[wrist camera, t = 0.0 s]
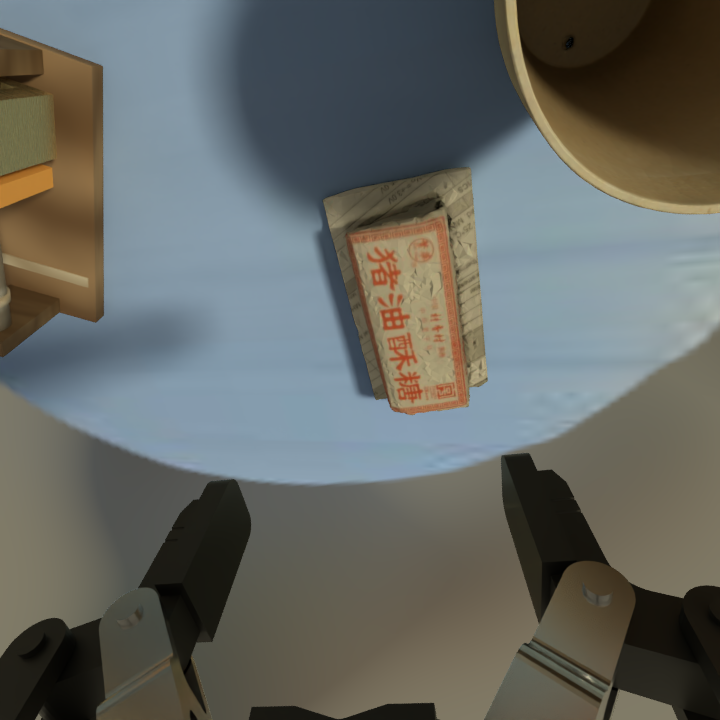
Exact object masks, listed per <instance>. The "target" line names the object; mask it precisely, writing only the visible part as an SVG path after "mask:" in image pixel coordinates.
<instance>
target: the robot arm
mask: <svg viewBox="0 0 720 720" xmlns="http://www.w3.org/2000/svg"><path fill="white" fill-rule="evenodd" d="M501 470H502V497H503V505H504V510H505V515H506V518H507V522H508V525H509V528H510V532H511V535H512V538H513V541H514V545H515V548H516V551H517V554H518V557H519V561H520V564H521V567H522V570H523V574H524V577H525V580H526V583H527V587H528V590H529V593H530V596H531V600H532V603H533V606H534V609H535V613H536V616H537V619H538V622H539V626H538V628H537V630H536V632H535V634H534V636H533V638H532V640H531V642H530V643H529V644H527V643H524V644H523V645H522V646H521V647H520V649H519V650H518V652H517V653H516V656H515V657H514V659H513V662H512V664H511V666H510V668H509V670H508V672H507V674H506V676H505V678H504V680H503V682H502V684H501V686H500V688H499V690H498V692H497V694H496V696H495V699H494V700H493V702H492V705H491V706H490V709H489V711H488V713H487V715H486V717H485V719H484V720H611V719H612V715H613V712H614V709H615V705H616V702H617V698H618V695H619V692H620V689H621V690H624V691H627V692H630V693H633V694H637V695H640V696H643V697H646V698H650V699H653V700H656V701H660V702H663V703H666V704H669V705H672V707H673V710H674V712H675V714H676V716H677V719H678V720H720V587H715V586H698V587H695V588H693V589H691V590H689V591H688V592H687V593H686V595H685V596H684V598H679V597H675V596H670V595H666V594H661V593H657V592H652V591H649V590H645V589H642V588H640V587H637V586H635V585H633V584H631V583H630V582H628V580H627V579H626V578H625V577H624V576H623V575H622V574H621V573H619V572H618V571H617V570H615V569H614V568H612V567H611V566H610V565H609V563H608V562H607V560H606V558H605V556H604V554H603V552H602V550H601V548H600V547H599V545H598V543H597V541H596V539H595V537H594V535H593V533H592V531H591V529H590V527H589V525H588V523H587V521H586V519H585V517H584V516H583V514H582V513H581V510H580V508H579V506H578V504H577V502H576V500H574V496H573V494H572V492H571V490H570V488H569V486H568V485H567V483H566V481H564V480H563V479H562V478H561V477H560V476H559V475H557V474H556V473H555V472H554V471H553V470H542V471H537V469H536V467H535V465H534V462H533V460H532V458H531V456H530V454H529V453H523V454H511V455H502V457H501ZM250 532H251V518H250V514H249V512H248V509H247V507H246V504H245V501H244V498H243V496H242V493H241V490H240V488H239V485H238V483H237V481H236V480H234V479H231V480H221V481H211V482H209V483H208V484H207V486H206V488H205V489H204V491H203V493H202V495H201V497H200V499H199V500H193V501H192V502H191V503H190V504H189V505H188V506H187V507H186V508H185V509H184V510H183V511H182V512H181V513H180V515H179V516H178V518H177V520H176V522H175V524H174V525H173V527H172V531H170V532H169V534H168V536H167V538H166V539H165V543H163V545H162V546H161V548H160V550H159V552H158V554H157V555H156V557H155V559H154V561H153V563H152V564H151V566H150V568H149V570H148V572H147V573H146V575H145V577H144V579H143V580H142V582H141V584H140V586H139V587H138V589H135V590H132V591H130V592H128V593H126V594H124V595H123V596H121V597H120V598H118V599H117V600H116V601H115V602H114V603H113V604H112V605H111V606H110V607H109V608H108V609H107V611H106V612H105V614H104V615H103V617H102V618H100V619H97V620H95V621H92V622H89V623H86V624H84V625H81V626H78V627H75V628H72V629H69V628H68V627H67V625H66V624H65V623H64V621H63V620H61V619H58V618H51V619H46V620H43V621H41V622H38V623H36V624H35V625H33V626H31V627H29V628H28V629H27V630H25V631H24V632H23V633H21V634H20V635H19V636H18V637H17V638H16V639H15V640H14V641H13V642H12V643H11V644H10V645H9V647H8V648H7V649H6V651H5V652H4V654H3V655H2V656H1V658H0V720H35V719H36V717H37V715H38V713H39V714H40V716H41V717H42V718H41V720H212V717H211V714H210V710H209V708H208V704H207V701H206V697H205V694H204V691H203V687H202V684H201V681H200V677H199V674H198V671H197V667H196V664H195V661H194V659H193V656H192V652H193V649H194V647H195V644H196V642H212V641H213V638H214V635H215V633H216V630H217V627H218V624H219V621H220V619H221V616H222V613H223V610H224V607H225V604H226V601H227V599H228V596H229V593H230V590H231V587H232V585H233V582H234V579H235V576H236V573H237V570H238V568H239V565H240V562H241V559H242V556H243V553H244V550H245V548H246V545H247V542H248V539H249V536H250ZM249 720H439V719H437V717H436V711H435V705H434V703H412V704H386V705H383V706H380V707H377V708H374V709H371V710H368V711H365V712H362V713H359V714H356V715H353V716H350V717H347V718H344V719H334V718H331V717H328V716H325V715H321V714H318V713H315V712H312V711H309V710H306V709H302V708H299V707H296V706H278V707H275V706H274V707H252V708H251V713H250V717H249Z"/></svg>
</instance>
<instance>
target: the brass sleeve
mask: <svg viewBox="0 0 720 720" xmlns="http://www.w3.org/2000/svg"><path fill="white" fill-rule="evenodd" d="M56 158H57V150H56V134H55V117H54V100H53V94H50V93H48V92H45V91H42V90H39V89H36V88H34V87H31V86H28V85H25V84H22V83H19V82H17V81H14V80H11V79H8V78H5V77H3V76H0V176H2V175H5V174H8V173H11V172H15V171H18V170H21V169H24V168H27V167H30V166H34V165H37V164H40V163H43V162H46V161H49V160H53V159H56Z"/></svg>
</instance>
